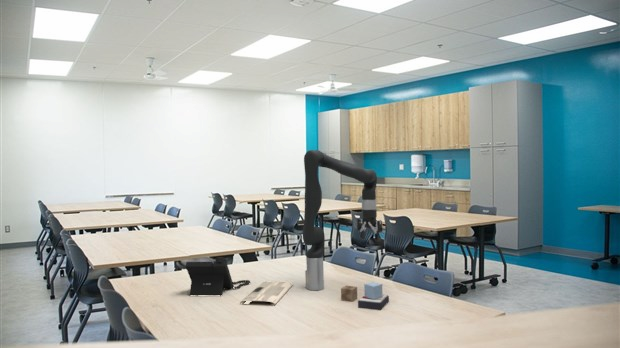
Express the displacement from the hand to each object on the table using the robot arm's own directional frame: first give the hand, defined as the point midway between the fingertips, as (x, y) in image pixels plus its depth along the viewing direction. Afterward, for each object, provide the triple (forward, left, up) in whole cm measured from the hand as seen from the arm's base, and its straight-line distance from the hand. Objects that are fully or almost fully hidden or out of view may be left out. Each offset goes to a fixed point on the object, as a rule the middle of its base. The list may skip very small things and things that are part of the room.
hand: (369, 239), depth 231 cm
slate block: (+11, -13, -24) cm, 30 cm away
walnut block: (-3, -14, -28) cm, 32 cm away
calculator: (+11, -13, -29) cm, 33 cm away
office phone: (-71, -44, -29) cm, 88 cm away
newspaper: (-41, -34, -29) cm, 60 cm away
